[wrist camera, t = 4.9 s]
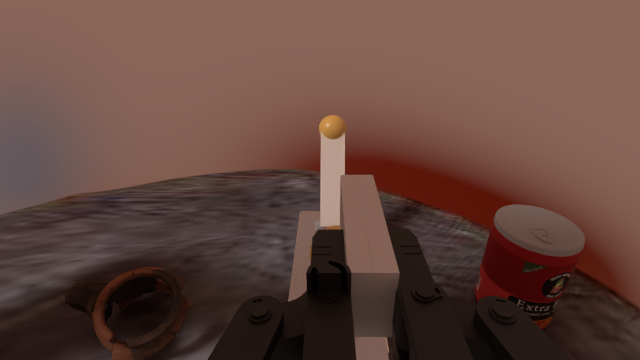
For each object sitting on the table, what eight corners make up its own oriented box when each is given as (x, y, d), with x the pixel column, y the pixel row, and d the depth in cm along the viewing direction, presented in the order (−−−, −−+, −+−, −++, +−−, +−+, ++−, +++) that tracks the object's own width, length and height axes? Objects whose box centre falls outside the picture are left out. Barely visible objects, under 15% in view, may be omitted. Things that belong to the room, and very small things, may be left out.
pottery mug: (200, 287, 42) (200, 262, 35) (179, 376, 36) (173, 365, 30) (93, 274, 39) (72, 244, 33) (52, 367, 34) (16, 352, 27)
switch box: (278, 428, 27) (274, 398, 25) (303, 212, 56) (302, 190, 54) (397, 431, 27) (403, 401, 25) (361, 212, 55) (363, 191, 54)
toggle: (314, 232, 42) (315, 112, 42) (315, 229, 45) (316, 118, 46) (350, 233, 42) (350, 112, 42) (348, 230, 45) (348, 118, 46)
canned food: (505, 342, 34) (536, 256, 29) (458, 286, 41) (478, 208, 36) (568, 328, 36) (608, 243, 31) (513, 275, 42) (539, 199, 37)
